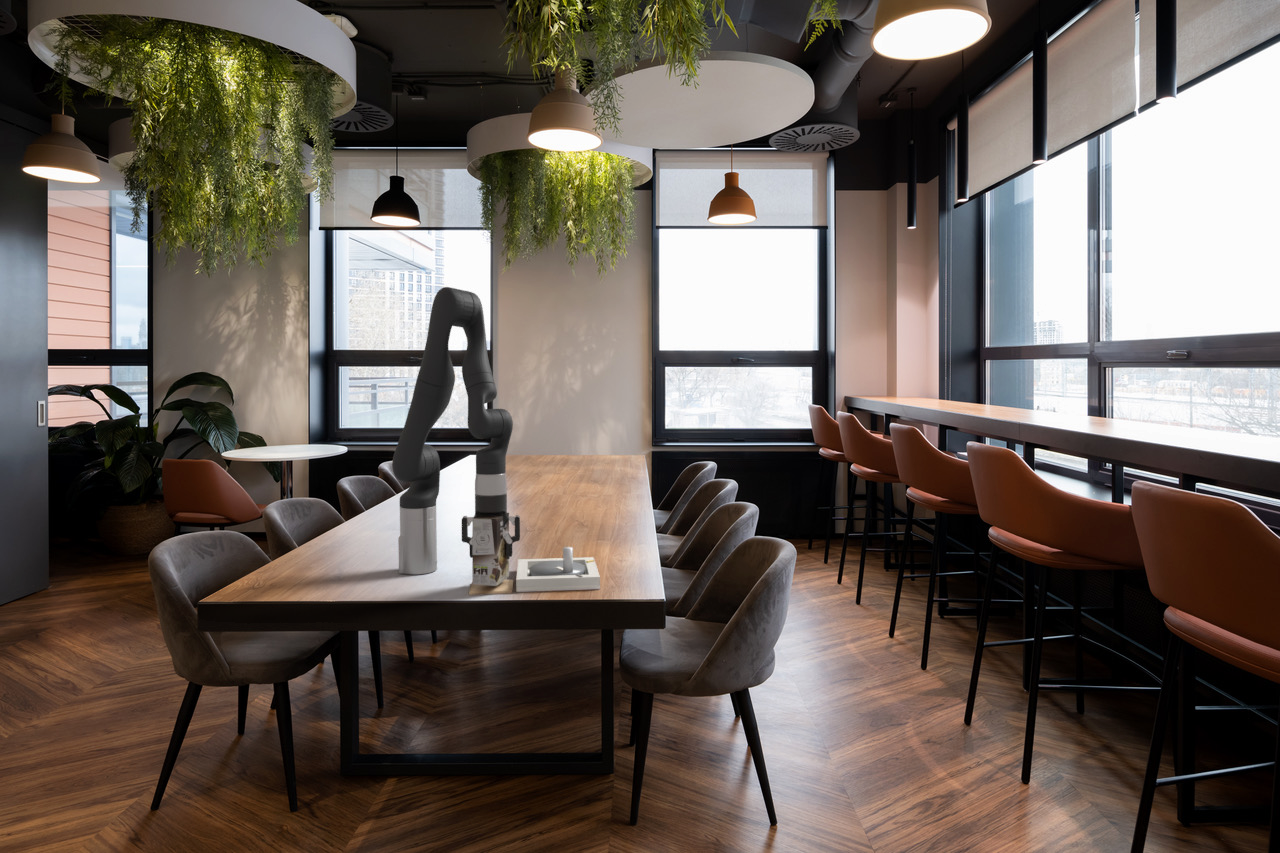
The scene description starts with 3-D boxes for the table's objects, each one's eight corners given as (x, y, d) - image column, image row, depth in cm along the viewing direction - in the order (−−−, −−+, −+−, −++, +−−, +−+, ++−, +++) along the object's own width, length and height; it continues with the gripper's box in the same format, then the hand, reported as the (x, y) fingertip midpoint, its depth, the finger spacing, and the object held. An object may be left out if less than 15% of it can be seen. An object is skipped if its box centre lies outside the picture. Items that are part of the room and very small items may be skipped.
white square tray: (516, 591, 176) (516, 578, 176) (518, 570, 196) (518, 558, 196) (600, 589, 179) (600, 575, 179) (593, 568, 199) (593, 556, 199)
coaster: (468, 594, 174) (468, 592, 174) (472, 583, 184) (472, 580, 184) (512, 593, 175) (512, 590, 175) (513, 581, 185) (513, 579, 185)
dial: (519, 572, 189) (519, 543, 188) (565, 564, 197) (565, 536, 197) (547, 585, 178) (547, 553, 177) (595, 575, 186) (595, 545, 186)
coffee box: (497, 586, 174) (497, 518, 173) (471, 585, 175) (471, 517, 174) (510, 576, 183) (510, 511, 182) (485, 575, 184) (485, 511, 183)
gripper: (458, 494, 173) (459, 563, 174) (520, 493, 175) (520, 561, 176) (462, 489, 181) (462, 556, 182) (521, 489, 183) (521, 554, 184)
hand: (491, 558), depth 179 cm, fingers open, 7 cm apart
